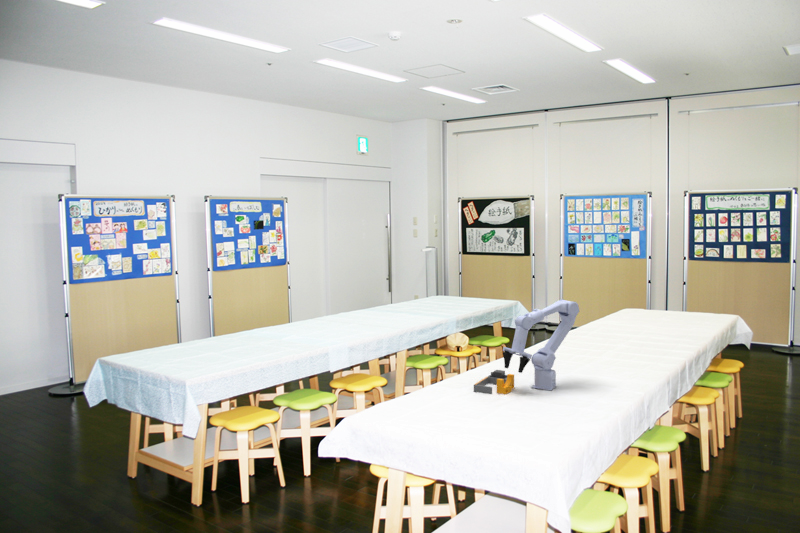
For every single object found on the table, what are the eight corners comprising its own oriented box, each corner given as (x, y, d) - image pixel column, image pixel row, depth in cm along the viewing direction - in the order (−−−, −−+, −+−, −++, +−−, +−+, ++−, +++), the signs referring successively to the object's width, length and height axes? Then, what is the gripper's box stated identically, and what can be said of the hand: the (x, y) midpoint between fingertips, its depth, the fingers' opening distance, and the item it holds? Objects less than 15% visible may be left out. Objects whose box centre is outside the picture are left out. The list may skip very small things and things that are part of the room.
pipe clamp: (505, 394, 266) (505, 380, 266) (496, 393, 269) (496, 379, 269) (517, 388, 276) (517, 375, 275) (509, 387, 278) (509, 373, 278)
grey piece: (511, 381, 287) (511, 370, 287) (493, 394, 267) (493, 382, 267) (492, 379, 292) (492, 368, 292) (473, 391, 272) (473, 379, 272)
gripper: (501, 337, 273) (495, 365, 272) (528, 344, 263) (521, 374, 262) (510, 338, 278) (503, 366, 277) (536, 345, 268) (530, 374, 267)
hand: (513, 370), depth 270 cm, fingers open, 7 cm apart
